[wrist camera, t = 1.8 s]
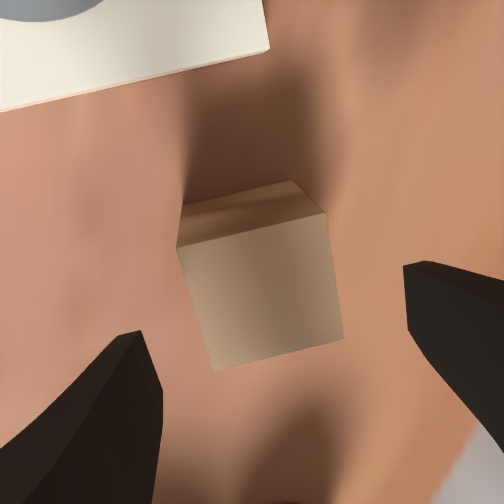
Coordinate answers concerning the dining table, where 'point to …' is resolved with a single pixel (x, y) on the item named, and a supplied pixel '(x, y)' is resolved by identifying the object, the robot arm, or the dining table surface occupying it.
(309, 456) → the dining table surface
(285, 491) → the dining table surface
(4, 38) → the base board
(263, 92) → the dining table surface
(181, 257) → the walnut block
